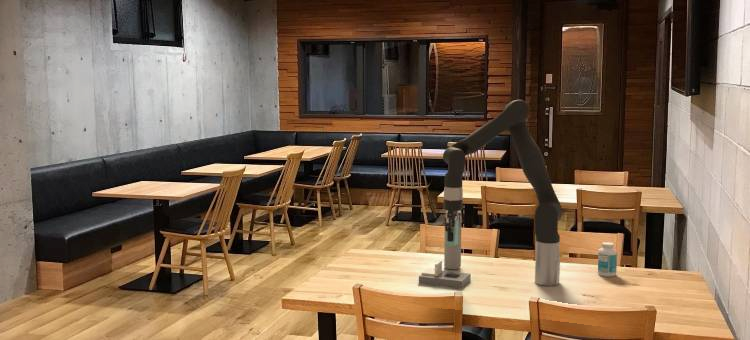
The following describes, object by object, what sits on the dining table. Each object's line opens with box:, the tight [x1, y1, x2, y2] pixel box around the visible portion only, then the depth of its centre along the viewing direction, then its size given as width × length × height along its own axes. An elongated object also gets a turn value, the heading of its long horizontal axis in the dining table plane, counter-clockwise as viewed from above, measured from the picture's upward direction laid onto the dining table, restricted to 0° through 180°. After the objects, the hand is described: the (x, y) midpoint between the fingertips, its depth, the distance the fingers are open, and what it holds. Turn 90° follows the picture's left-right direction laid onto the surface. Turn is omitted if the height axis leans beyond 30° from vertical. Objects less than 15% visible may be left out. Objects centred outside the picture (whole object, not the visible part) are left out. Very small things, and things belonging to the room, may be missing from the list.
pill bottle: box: [597, 241, 618, 278], centre depth 310 cm, size 8×7×14 cm
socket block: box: [418, 270, 471, 290], centre depth 300 cm, size 18×12×3 cm, turn 67°
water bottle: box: [443, 210, 463, 271], centre depth 321 cm, size 9×8×25 cm
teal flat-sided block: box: [444, 219, 459, 246], centre depth 297 cm, size 4×4×10 cm
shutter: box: [421, 260, 443, 276], centre depth 302 cm, size 6×7×5 cm
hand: (452, 239), depth 297 cm, fingers closed on teal flat-sided block, 4 cm apart
